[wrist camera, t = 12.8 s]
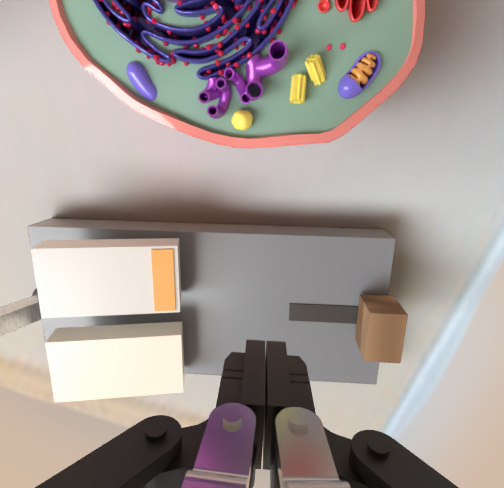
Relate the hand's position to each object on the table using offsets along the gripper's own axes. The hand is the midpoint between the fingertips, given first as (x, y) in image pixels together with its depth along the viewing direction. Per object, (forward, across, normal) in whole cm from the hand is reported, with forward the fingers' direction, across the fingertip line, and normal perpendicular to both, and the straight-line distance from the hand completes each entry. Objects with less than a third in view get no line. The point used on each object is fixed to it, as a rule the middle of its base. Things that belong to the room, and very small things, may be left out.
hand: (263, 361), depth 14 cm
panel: (+16, +4, +4) cm, 17 cm away
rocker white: (+11, +10, +1) cm, 15 cm away
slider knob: (+13, -8, +4) cm, 16 cm away
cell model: (+16, +2, -16) cm, 23 cm away
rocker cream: (+11, +10, +8) cm, 17 cm away
